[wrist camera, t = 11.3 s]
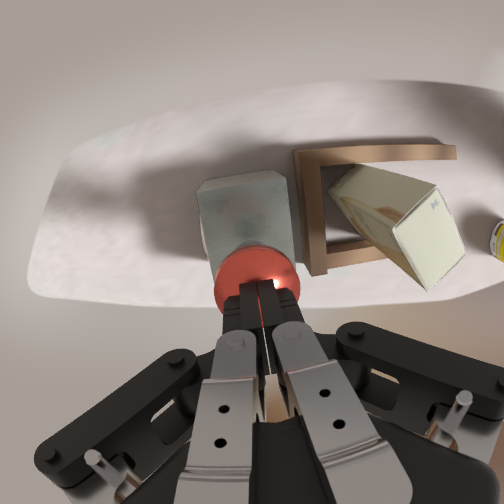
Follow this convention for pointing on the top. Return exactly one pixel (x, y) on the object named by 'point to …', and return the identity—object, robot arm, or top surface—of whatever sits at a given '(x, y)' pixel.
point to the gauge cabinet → (244, 214)
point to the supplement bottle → (498, 241)
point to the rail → (312, 199)
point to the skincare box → (401, 221)
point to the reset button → (254, 271)
